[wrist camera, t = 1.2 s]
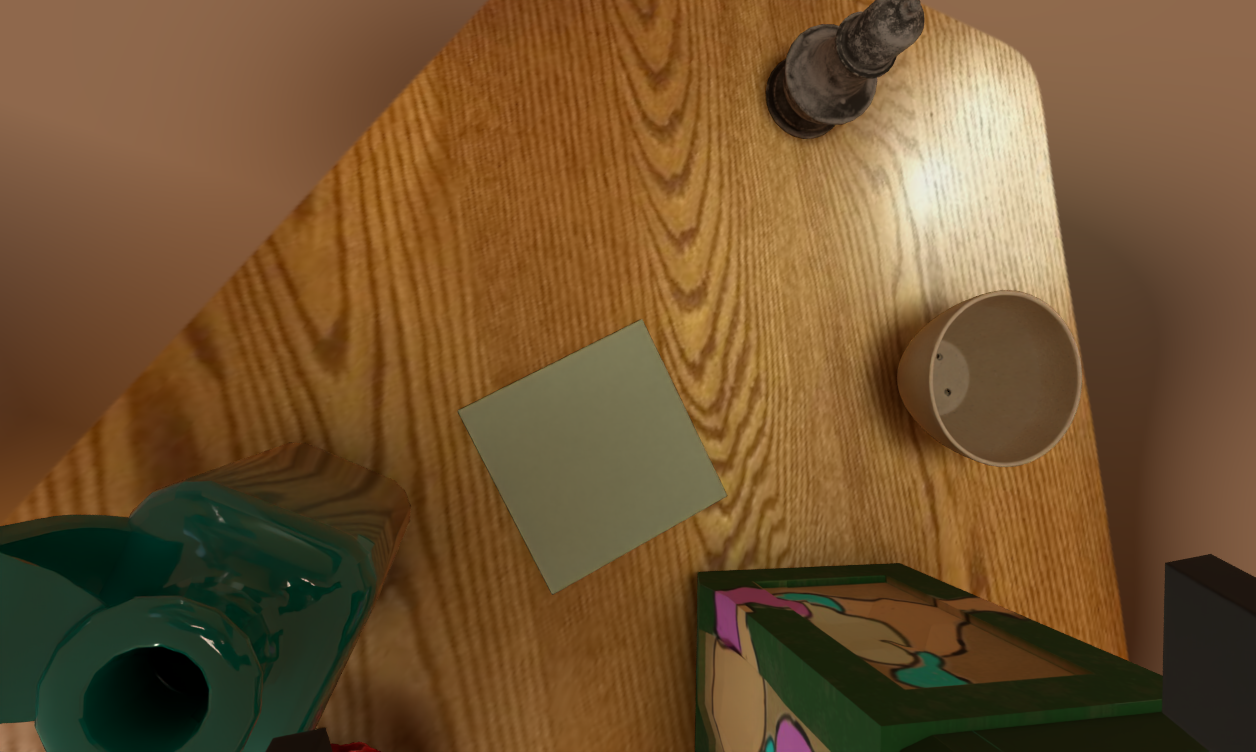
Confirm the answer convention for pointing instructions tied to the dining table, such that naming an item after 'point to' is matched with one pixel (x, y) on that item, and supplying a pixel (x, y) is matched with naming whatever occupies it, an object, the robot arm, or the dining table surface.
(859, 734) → the container
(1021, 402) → the flower pot
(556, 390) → the mat
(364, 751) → the carnation
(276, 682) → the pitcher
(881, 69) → the grey chess piece
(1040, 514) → the dining table surface
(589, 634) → the dining table surface
